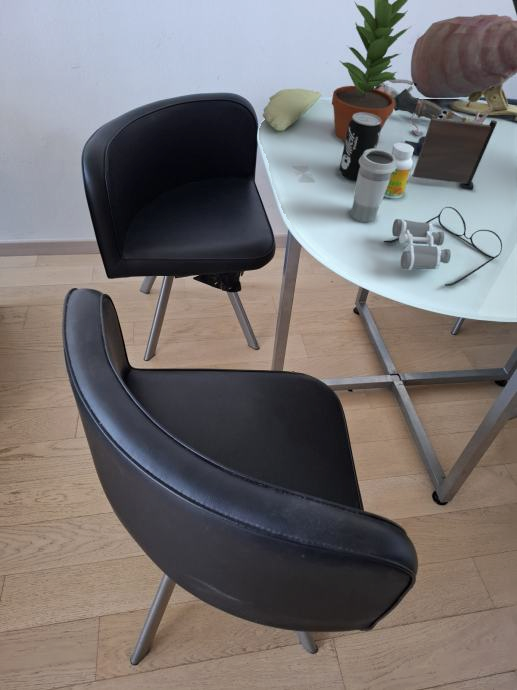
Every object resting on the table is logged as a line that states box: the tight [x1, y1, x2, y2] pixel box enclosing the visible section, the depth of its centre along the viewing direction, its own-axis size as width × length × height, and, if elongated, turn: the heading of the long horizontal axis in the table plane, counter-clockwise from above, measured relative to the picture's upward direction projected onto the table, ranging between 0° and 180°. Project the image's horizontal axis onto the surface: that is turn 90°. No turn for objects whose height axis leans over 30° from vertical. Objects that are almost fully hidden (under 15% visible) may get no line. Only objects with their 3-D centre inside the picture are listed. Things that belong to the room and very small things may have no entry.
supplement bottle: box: [383, 142, 414, 200], centre depth 98 cm, size 5×5×10 cm
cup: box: [350, 148, 396, 223], centre depth 90 cm, size 7×7×12 cm
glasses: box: [383, 206, 503, 287], centre depth 87 cm, size 14×15×5 cm
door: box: [412, 118, 491, 184], centre depth 100 cm, size 1×12×12 cm, turn 85°
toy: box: [374, 78, 491, 136], centre depth 126 cm, size 9×16×30 cm
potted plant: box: [331, 0, 413, 142], centre depth 108 cm, size 15×15×30 cm
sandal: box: [449, 83, 517, 123], centre depth 134 cm, size 13×23×8 cm, turn 52°
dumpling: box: [262, 88, 322, 132], centre depth 123 cm, size 26×4×10 cm
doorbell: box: [404, 135, 426, 156], centre depth 116 cm, size 12×6×2 cm, turn 78°
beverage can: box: [339, 112, 382, 182], centre depth 101 cm, size 7×7×12 cm
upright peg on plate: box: [460, 119, 498, 191], centre depth 101 cm, size 2×2×14 cm
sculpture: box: [410, 14, 517, 99], centre depth 132 cm, size 19×28×30 cm
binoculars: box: [391, 218, 452, 271], centre depth 83 cm, size 12×8×4 cm, turn 179°
